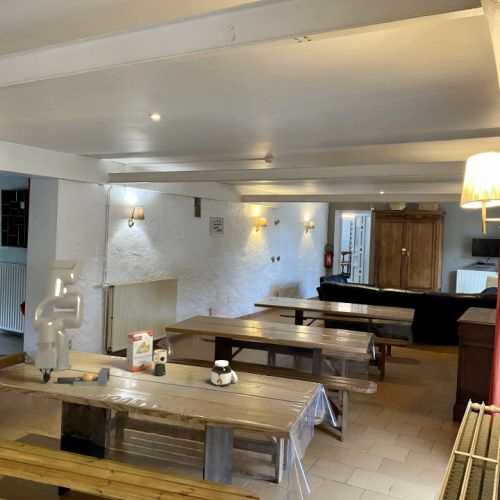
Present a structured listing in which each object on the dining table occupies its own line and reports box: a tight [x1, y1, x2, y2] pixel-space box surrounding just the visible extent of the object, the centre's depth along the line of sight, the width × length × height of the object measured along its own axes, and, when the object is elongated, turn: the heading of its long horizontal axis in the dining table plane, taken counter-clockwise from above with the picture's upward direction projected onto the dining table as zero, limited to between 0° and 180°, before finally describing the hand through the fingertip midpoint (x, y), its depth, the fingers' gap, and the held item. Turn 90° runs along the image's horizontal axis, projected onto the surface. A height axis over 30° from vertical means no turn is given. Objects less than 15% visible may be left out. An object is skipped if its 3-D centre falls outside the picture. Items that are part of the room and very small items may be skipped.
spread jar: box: [210, 359, 239, 387], centre depth 249 cm, size 12×11×12 cm
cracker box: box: [125, 329, 154, 373], centre depth 272 cm, size 14×6×21 cm, turn 143°
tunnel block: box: [72, 367, 111, 387], centre depth 246 cm, size 16×10×6 cm, turn 96°
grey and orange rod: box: [56, 373, 98, 384], centre depth 245 cm, size 19×4×4 cm, turn 96°
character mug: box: [152, 349, 168, 376], centre depth 262 cm, size 11×7×13 cm, turn 152°
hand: (46, 381), depth 243 cm, fingers closed
